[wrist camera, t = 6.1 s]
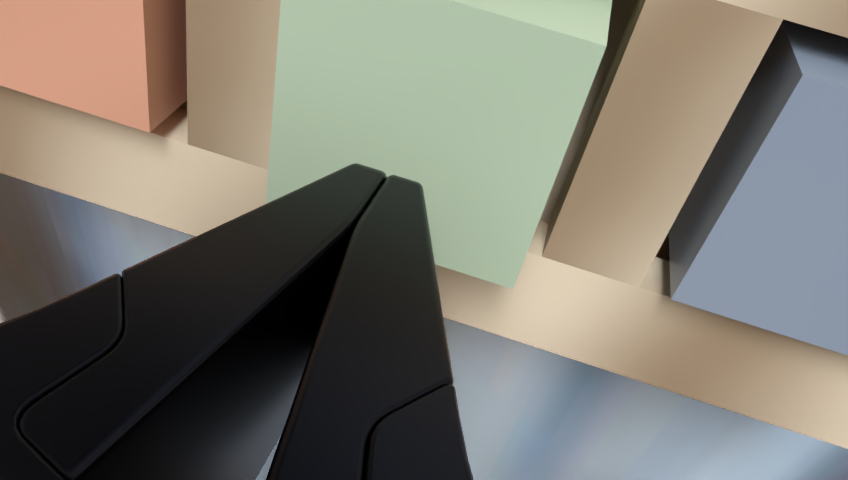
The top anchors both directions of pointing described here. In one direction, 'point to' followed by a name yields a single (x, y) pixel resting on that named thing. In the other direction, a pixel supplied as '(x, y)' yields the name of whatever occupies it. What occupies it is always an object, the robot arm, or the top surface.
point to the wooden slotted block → (563, 213)
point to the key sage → (439, 108)
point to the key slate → (775, 199)
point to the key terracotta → (98, 56)
